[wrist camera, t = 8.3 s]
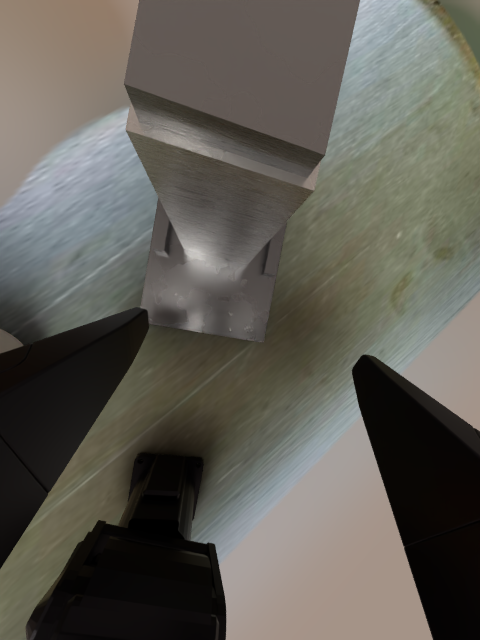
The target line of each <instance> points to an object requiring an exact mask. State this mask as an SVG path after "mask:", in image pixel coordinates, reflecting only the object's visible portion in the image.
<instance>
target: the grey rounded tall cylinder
mask: <svg viewBox="0 0 480 640" xmlns="http://www.w3.org/2000/svg"><path fill="white" fill-rule="evenodd" d="M21 346H23V344H22V343H21V342H20V341H19V340H18V339H17V338H15V337H14V336H12V335H11V334H9V333H7V332H6V331H4V330H2V329H0V353H3V352H6V351H9V350H12V349H15V348H18V347H21Z"/></svg>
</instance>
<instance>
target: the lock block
mask: <svg viewBox="0 0 480 640" xmlns="http://www.w3.org/2000/svg"><path fill="white" fill-rule="evenodd" d="M359 2H360V0H139V5H138V10H137V16H136V21H135V27H134V32H133V38H132V43H131V49H130V54H129V59H128V65H127V70H126V76H125V81H124V85H125V87H126V90H127V93H128V95H129V98H130V100H131V103H130V109H129V114H128V120H127V125H126V132H127V134H128V136H129V138H130V140H131V142H132V144H133V146H134V148H135V150H136V152H137V154H138V156H139V158H140V160H141V162H142V164H143V166H144V168H145V171H146V173H147V175H148V177H149V179H150V181H151V183H152V185H153V187H154V189H155V191H156V193H157V195H158V197H159V199H160V201H161V203H162V205H163V207H164V209H165V211H166V213H167V216H168V218H169V220H170V222H171V224H172V226H173V228H174V230H175V232H176V234H177V236H178V238H179V240H180V242H181V244H182V246H183V248H184V249H188V250H192V251H196V252H199V253H203V254H207V255H211V256H215V257H219V258H223V259H227V260H231V261H235V262H239V263H243V264H247V265H248V264H249V262H250V261H251V260H252V259H253V258H254V257H255V256H256V255H257V254H258V253H259V251H260V250H261V249H262V248H263V247H264V246H265V245H266V244H267V243H268V241H269V240H270V239H271V238H272V237H273V236H274V235H275V234H276V233H277V231H278V230H279V229H280V228H281V227H282V226H283V225H284V224H285V223H286V221H287V220H288V219H289V218H290V217H291V216H292V215H293V214H294V213H295V211H296V210H297V209H298V208H299V207H300V206H301V205H302V204H303V203H304V201H305V200H306V199H307V198H308V197H309V196H310V195H311V194H312V193H313V191H314V189H315V185H316V180H317V176H318V171H319V167H320V163H321V160H322V158H323V157H324V156H325V153H326V148H327V144H328V140H329V135H330V131H331V126H332V122H333V117H334V113H335V109H336V104H337V100H338V95H339V91H340V86H341V82H342V78H343V73H344V69H345V64H346V60H347V56H348V51H349V47H350V42H351V38H352V33H353V29H354V25H355V20H356V16H357V11H358V7H359Z"/></svg>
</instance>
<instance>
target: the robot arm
mask: <svg viewBox="0 0 480 640" xmlns="http://www.w3.org/2000/svg"><path fill="white" fill-rule="evenodd" d="M148 329H149V317H148V310H147V309H143V308H139V307H136V308H133V309H130V310H127V311H124V312H121V313H118V314H115V315H112V316H109V317H106V318H103V319H100V320H98V321H95V322H92V323H89V324H86V325H83V326H80V327H77V328H74V329H71V330H68V331H65V332H62V333H59V334H56V335H54V336H51V337H48V338H45V339H42V340H39V341H36V342H34V343H33V344H31V343H30V344H27V345H24V346H21V347H18V348H15V349H12V350H9V351H6V352H3V353H0V569H1V567H2V566H3V564H4V562H5V561H6V559H7V558H8V556H9V555H10V553H11V552H12V550H13V548H14V547H15V545H16V544H17V542H18V541H19V539H20V538H21V536H22V534H23V533H24V531H25V530H26V528H27V527H28V525H29V524H30V522H31V520H32V519H33V517H34V516H35V514H36V513H37V511H38V510H39V508H40V506H41V505H42V503H43V502H44V500H45V499H46V497H47V496H48V493H49V492H50V491H51V489H52V487H53V486H54V484H55V483H56V481H57V480H58V478H59V477H60V475H61V473H62V472H63V470H64V469H65V467H66V466H67V464H68V463H69V461H70V459H71V458H72V456H73V455H74V453H75V452H76V450H77V449H78V447H79V445H80V444H81V442H82V441H83V439H84V438H85V436H86V435H87V433H88V432H89V430H90V428H91V427H92V425H93V424H94V422H95V421H96V419H97V418H98V416H99V414H100V413H101V411H102V410H103V408H104V407H105V405H106V404H107V402H108V400H109V399H110V397H111V396H112V394H113V393H114V391H115V390H116V388H117V386H118V385H119V383H120V382H121V380H122V379H123V377H124V376H125V374H126V372H127V371H128V369H129V368H130V366H131V364H132V363H133V361H134V359H135V357H136V355H137V353H138V351H139V349H140V347H141V345H142V342H143V340H144V338H145V336H146V334H147V332H148ZM352 375H353V380H354V385H355V390H356V394H357V399H358V404H359V408H360V411H361V414H362V417H363V421H364V424H365V427H366V430H367V433H368V436H369V439H370V442H371V446H372V448H373V452H374V455H375V458H376V461H377V464H378V467H379V471H380V474H381V477H382V480H383V483H384V486H385V489H386V493H387V496H388V499H389V502H390V505H391V508H392V511H393V515H394V518H395V521H396V524H397V527H398V530H399V533H400V536H401V540H402V543H403V546H404V550H405V553H406V556H407V559H408V562H409V565H410V568H411V572H412V574H413V578H414V581H415V584H416V587H417V591H418V593H419V596H420V600H421V603H422V606H423V609H424V612H425V615H426V619H427V622H428V625H429V628H430V631H431V634H432V638H433V640H480V431H478V430H477V429H475V428H473V427H472V426H471V425H470V424H468V423H467V422H465V421H464V420H463V419H461V418H460V417H459V416H457V415H456V414H454V413H453V412H451V411H450V410H449V409H447V408H446V407H445V406H443V405H442V404H440V403H439V402H438V401H436V400H435V399H433V398H432V397H431V396H429V395H428V394H426V393H425V392H424V391H422V390H421V389H419V388H418V387H416V386H415V385H414V384H412V383H411V382H409V381H408V380H407V379H405V378H404V377H402V376H401V375H400V374H398V373H397V372H395V371H394V370H393V369H391V368H390V367H388V366H387V365H386V364H384V363H383V362H381V361H380V360H379V359H377V358H376V357H374V356H370V355H362V356H361V357H360V358H359V360H358V361H357V363H356V364H355V365H354V367H353V369H352ZM139 459H142V460H143V461H140V460H139ZM197 463H200V465H197ZM203 466H204V461H203V459H202V458H198V457H185V456H174V455H161V454H159V455H158V454H145V453H140V454H138V455H137V457H136V459H135V462H134V468H133V474H132V480H131V486H130V492H129V498H128V504H127V506H126V508H125V511H124V513H123V515H122V518H121V520H120V523H119V525H118V526H116V525H111V524H106V521H101V520H98V522H97V523H96V525H95V527H94V528H93V530H92V532H88V534H87V536H86V537H85V539H84V540H83V541H82V542H80V543H78V544H77V546H76V548H75V550H74V552H73V553H72V555H71V557H70V559H69V560H68V562H67V564H66V566H65V567H64V569H63V571H62V572H61V574H60V575H59V577H58V578H57V580H56V581H55V582H54V584H53V585H52V586H51V588H50V589H49V590H48V592H47V593H46V594H45V596H44V597H43V598H42V600H41V601H40V602H39V603H38V605H37V606H36V608H35V609H34V611H33V613H32V615H31V617H30V618H29V621H28V623H27V625H26V638H27V640H225V639H226V603H225V596H224V590H223V585H222V580H221V574H220V569H219V564H218V558H217V553H216V548H215V544H213V543H207V544H203V543H198V542H194V541H190V539H191V528H192V520H193V519H194V515H195V510H196V504H197V499H198V493H199V488H200V482H201V477H202V471H203Z"/></svg>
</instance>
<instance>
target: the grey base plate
mask: <svg viewBox="0 0 480 640" xmlns="http://www.w3.org/2000/svg"><path fill="white" fill-rule="evenodd" d="M286 223H287V221H286ZM286 223H285V224H284V225H283V226H282V227H281V228H280V229H279V230H278V231H277V233H276V234H275V235H274V236H273V237H272V238H271V239H270V240H269V241H268V243H267V244H266V245H265V246H264V247H263V248H262V249H261V250H260V251H259V253H258V254H257V255H256V256H255V257H254V258H253V259H252V260H251V261H250V262H249V264H248V265H247V264H243V263H239V262H235V261H231V260H227V259H223V258H219V257H215V256H211V255H207V254H203V253H199V252H196V251H192V250H188V249H184V248H183V246H182V244H181V242H180V240H179V238H178V236H177V234H176V232H175V230H174V228H173V226H172V224H171V222H170V220H169V218H168V216H167V213H166V211H165V209H164V207H163V205H162V203H161V201H160V199H159V197H158V203H157V209H156V216H155V222H154V228H153V234H152V240H151V246H150V252H149V259H148V265H147V271H146V277H145V283H144V289H143V295H142V302H141V308H143V309H147V310H148V317H149V324H153V325H159V326H165V327H171V328H177V329H183V330H189V331H195V332H201V333H207V334H214V335H220V336H226V337H232V338H238V339H244V340H250V341H256V342H262V343H264V338H265V333H266V327H267V322H268V317H269V312H270V307H271V301H272V296H273V291H274V286H275V281H276V275H277V270H278V265H279V260H280V255H281V249H282V244H283V239H284V234H285V229H286Z"/></svg>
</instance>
